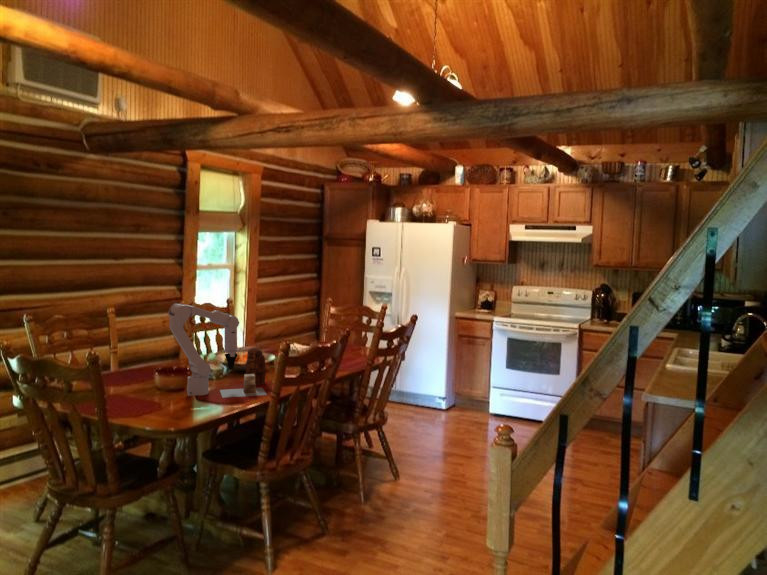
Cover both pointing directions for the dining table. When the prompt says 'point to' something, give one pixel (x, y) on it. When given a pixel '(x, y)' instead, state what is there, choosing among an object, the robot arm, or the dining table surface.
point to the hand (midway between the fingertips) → (230, 368)
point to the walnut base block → (249, 389)
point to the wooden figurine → (256, 365)
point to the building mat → (241, 393)
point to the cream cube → (249, 379)
